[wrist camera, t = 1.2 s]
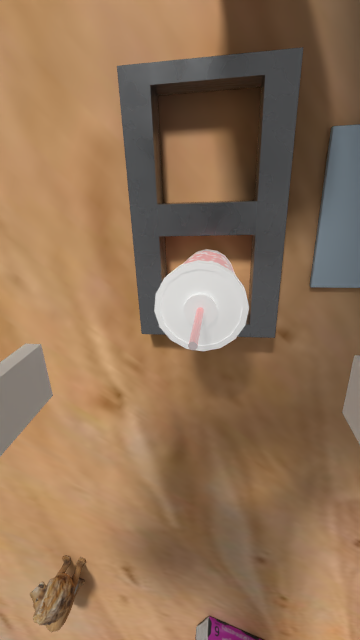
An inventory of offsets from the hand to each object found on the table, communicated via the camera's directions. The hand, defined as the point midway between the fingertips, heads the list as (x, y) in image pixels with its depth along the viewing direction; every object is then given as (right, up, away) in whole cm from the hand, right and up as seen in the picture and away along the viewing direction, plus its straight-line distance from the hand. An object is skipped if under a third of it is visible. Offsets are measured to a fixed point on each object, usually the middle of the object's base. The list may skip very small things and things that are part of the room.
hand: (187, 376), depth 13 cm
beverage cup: (+2, +7, +15) cm, 17 cm away
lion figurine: (-18, -39, +37) cm, 57 cm away
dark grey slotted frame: (+2, +11, +13) cm, 17 cm away
